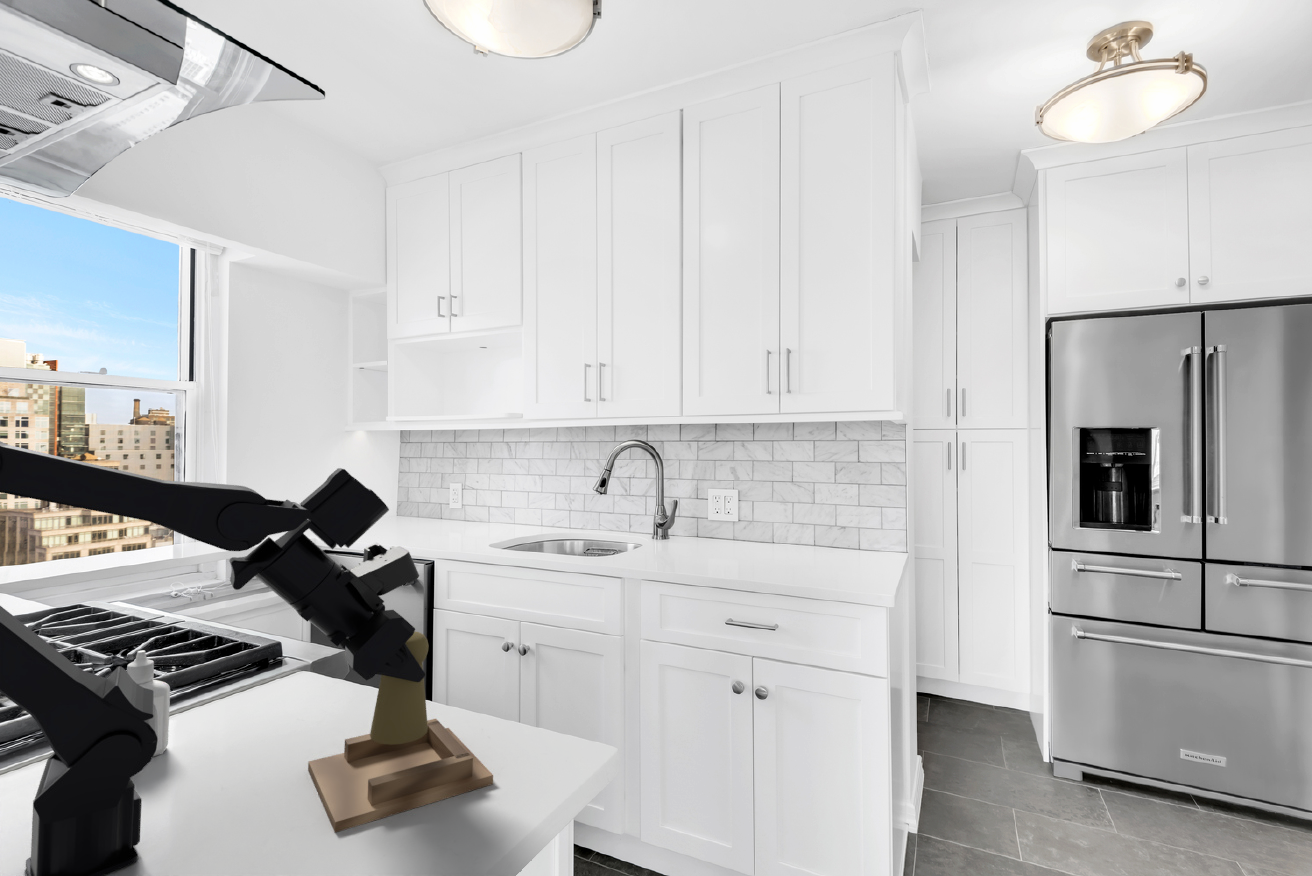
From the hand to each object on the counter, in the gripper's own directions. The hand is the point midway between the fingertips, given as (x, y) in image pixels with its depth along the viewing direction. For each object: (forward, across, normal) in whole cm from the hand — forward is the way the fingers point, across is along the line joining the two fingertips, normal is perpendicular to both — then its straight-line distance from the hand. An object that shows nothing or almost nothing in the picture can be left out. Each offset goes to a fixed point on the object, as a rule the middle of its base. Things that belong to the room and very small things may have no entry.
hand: (414, 671), depth 73 cm
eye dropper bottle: (-9, +21, +26) cm, 35 cm away
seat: (+8, 0, +9) cm, 12 cm away
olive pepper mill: (+4, 0, +6) cm, 7 cm away
